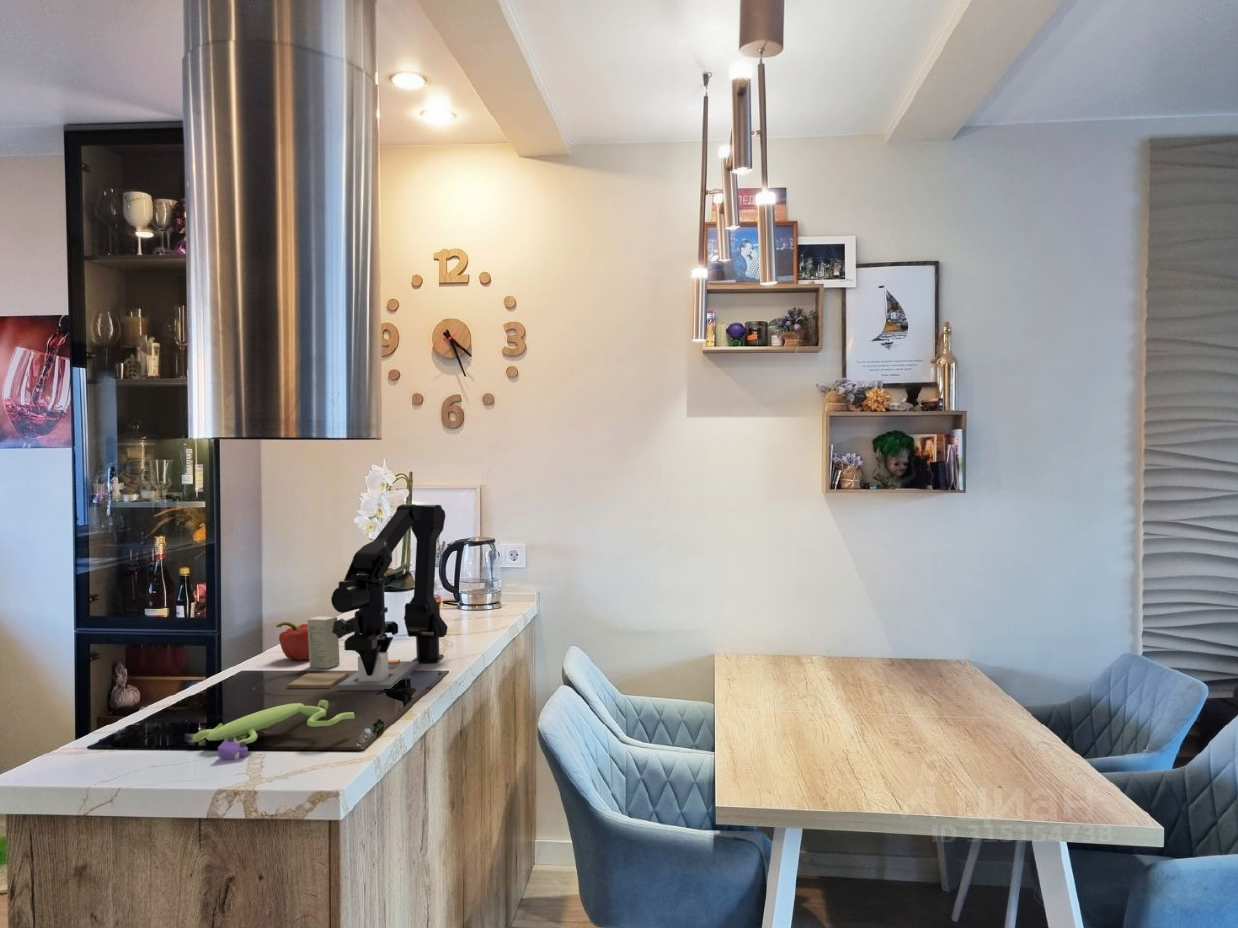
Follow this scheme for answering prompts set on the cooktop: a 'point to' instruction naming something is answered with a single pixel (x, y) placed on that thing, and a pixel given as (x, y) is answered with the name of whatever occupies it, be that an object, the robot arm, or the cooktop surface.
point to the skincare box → (322, 642)
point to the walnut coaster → (318, 680)
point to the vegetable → (295, 641)
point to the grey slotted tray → (396, 673)
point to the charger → (375, 669)
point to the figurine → (262, 726)
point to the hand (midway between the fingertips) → (373, 672)
